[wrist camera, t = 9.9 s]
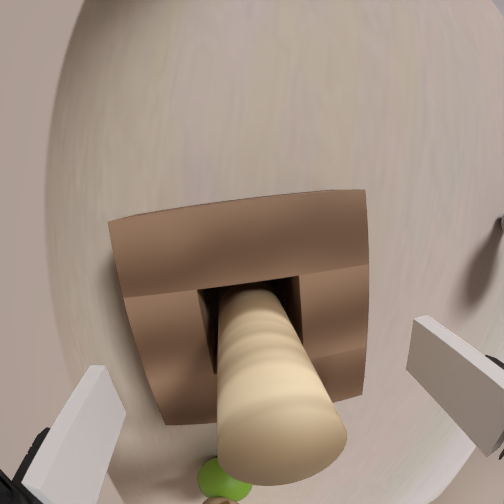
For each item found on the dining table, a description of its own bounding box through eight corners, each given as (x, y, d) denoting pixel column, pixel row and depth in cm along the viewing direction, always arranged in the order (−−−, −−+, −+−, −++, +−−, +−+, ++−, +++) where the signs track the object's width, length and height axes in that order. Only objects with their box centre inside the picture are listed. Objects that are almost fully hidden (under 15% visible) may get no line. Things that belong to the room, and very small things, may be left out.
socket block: (134, 214, 19) (107, 222, 14) (333, 189, 20) (365, 189, 15) (174, 385, 22) (165, 425, 17) (338, 360, 23) (362, 394, 18)
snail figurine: (216, 435, 23) (219, 541, 12) (260, 460, 25) (277, 552, 13) (180, 455, 24) (172, 550, 12) (224, 478, 25) (230, 564, 13)
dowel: (215, 276, 20) (204, 421, 7) (271, 268, 20) (352, 395, 7) (223, 327, 21) (229, 491, 7) (276, 319, 21) (341, 470, 8)
